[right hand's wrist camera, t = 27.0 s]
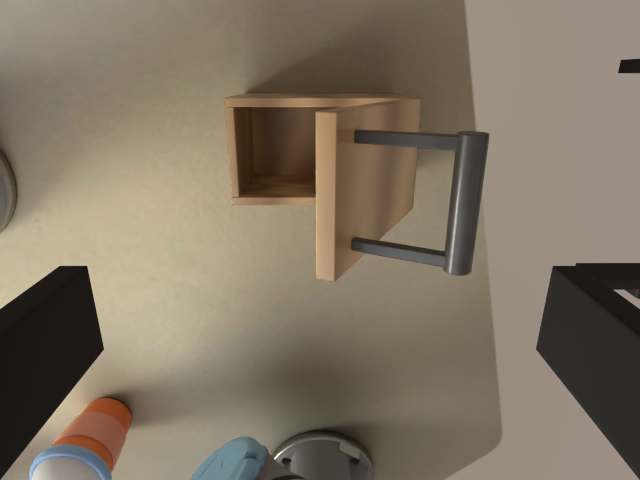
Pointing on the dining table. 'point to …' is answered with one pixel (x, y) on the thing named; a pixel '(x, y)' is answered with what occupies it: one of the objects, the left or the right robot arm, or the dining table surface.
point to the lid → (388, 186)
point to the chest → (279, 143)
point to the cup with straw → (86, 445)
